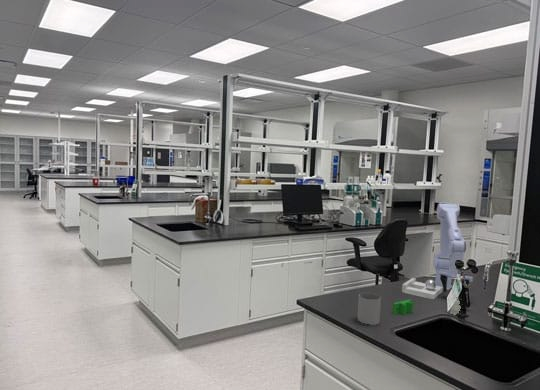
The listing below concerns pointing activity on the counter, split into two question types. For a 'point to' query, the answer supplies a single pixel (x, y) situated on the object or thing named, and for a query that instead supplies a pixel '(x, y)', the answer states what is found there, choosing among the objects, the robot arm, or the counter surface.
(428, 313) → the counter surface
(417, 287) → the deck
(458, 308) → the valve
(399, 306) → the pipe clamp
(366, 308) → the cup
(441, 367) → the counter surface
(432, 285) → the ball
